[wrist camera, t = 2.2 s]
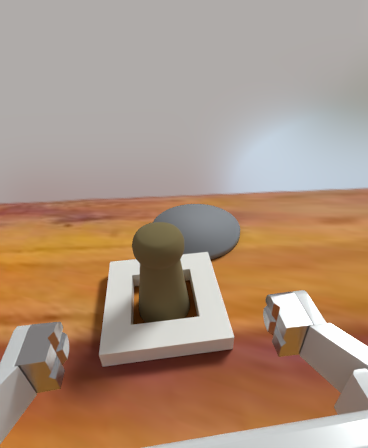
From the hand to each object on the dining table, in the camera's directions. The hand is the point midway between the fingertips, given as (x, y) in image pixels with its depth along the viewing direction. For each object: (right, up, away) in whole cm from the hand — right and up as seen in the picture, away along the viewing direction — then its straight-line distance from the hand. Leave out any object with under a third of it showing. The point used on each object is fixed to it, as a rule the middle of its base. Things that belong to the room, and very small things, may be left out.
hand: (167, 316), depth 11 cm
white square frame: (-2, -6, +22) cm, 23 cm away
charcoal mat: (+2, +2, +34) cm, 34 cm away
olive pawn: (-2, -6, +22) cm, 23 cm away
